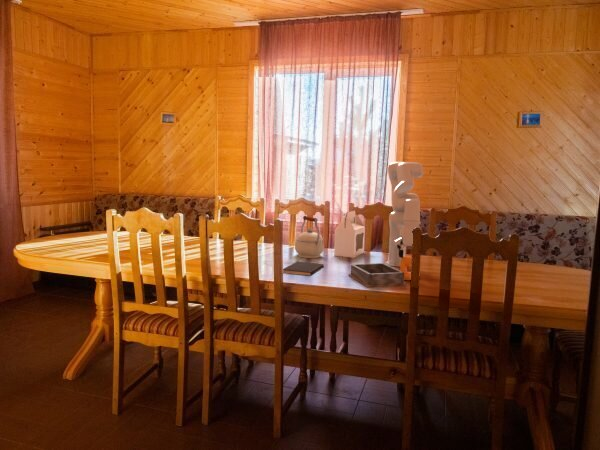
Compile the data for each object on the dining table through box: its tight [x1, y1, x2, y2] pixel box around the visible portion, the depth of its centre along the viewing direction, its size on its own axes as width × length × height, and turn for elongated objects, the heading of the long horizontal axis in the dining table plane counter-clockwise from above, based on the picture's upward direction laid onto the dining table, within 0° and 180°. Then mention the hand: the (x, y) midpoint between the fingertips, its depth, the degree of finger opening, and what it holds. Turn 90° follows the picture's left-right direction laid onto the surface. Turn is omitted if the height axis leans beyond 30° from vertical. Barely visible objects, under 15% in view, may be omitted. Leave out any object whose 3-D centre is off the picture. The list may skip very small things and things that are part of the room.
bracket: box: [399, 255, 413, 281], centre depth 239 cm, size 11×7×12 cm, turn 158°
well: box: [348, 262, 407, 289], centre depth 234 cm, size 20×24×6 cm
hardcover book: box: [282, 261, 325, 276], centre depth 255 cm, size 16×23×2 cm
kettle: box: [294, 215, 325, 259], centre depth 291 cm, size 25×18×25 cm
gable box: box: [333, 210, 366, 258], centre depth 302 cm, size 22×13×28 cm, turn 155°
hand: (409, 257), depth 237 cm, fingers open, 9 cm apart
